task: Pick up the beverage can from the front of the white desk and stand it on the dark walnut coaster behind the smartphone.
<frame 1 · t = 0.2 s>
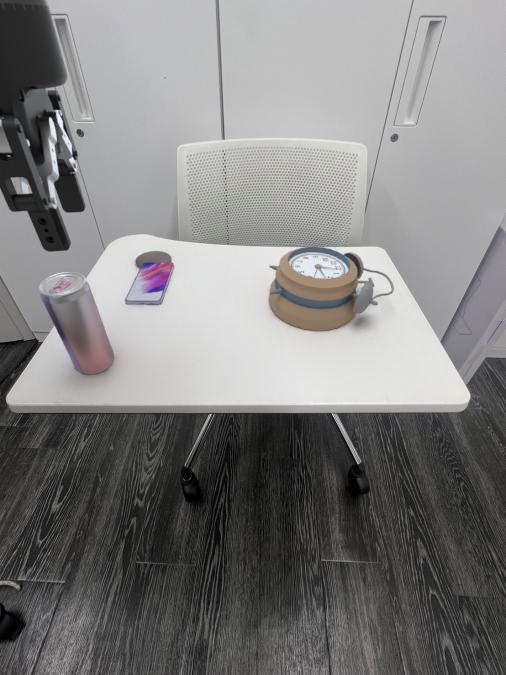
hand: (67, 228, 34), 25 cm above the table, tool pointing down, fingers open, 8 cm apart
smartphone: (151, 284, 72), on the table
alarm clock: (326, 304, 68), on the table
coaster: (153, 261, 78), on the table
beverage can: (95, 362, 55), on the table
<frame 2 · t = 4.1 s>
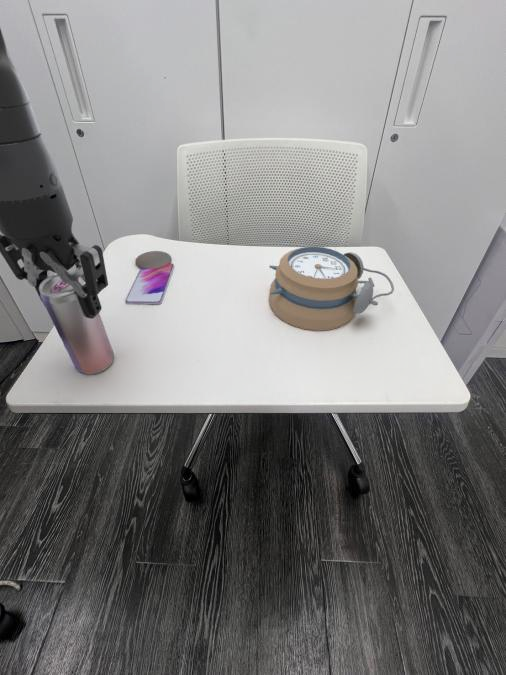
hand: (73, 309, 47), 11 cm above the table, tool pointing down, fingers closed on beverage can, 6 cm apart
beverage can: (95, 362, 55), on the table, touching gripper
everything else where it was.
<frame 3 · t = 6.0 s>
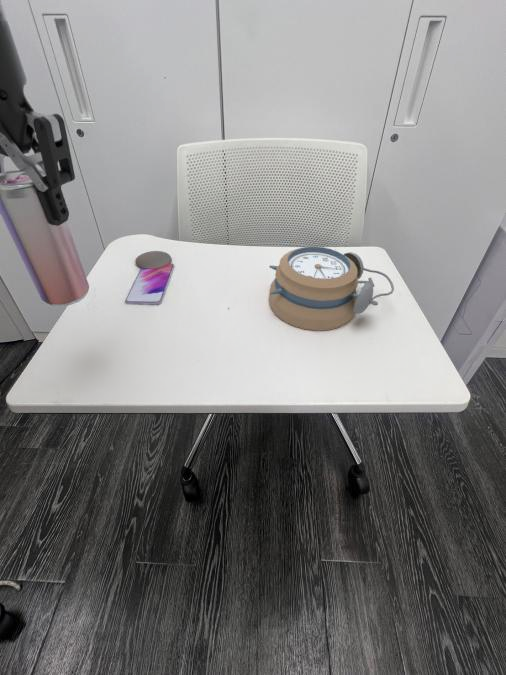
hand: (35, 217, 38), 24 cm above the table, tool pointing down, fingers closed on beverage can, 6 cm apart
beverage can: (67, 296, 46), point 13 cm above the table, touching gripper
everything else where it was.
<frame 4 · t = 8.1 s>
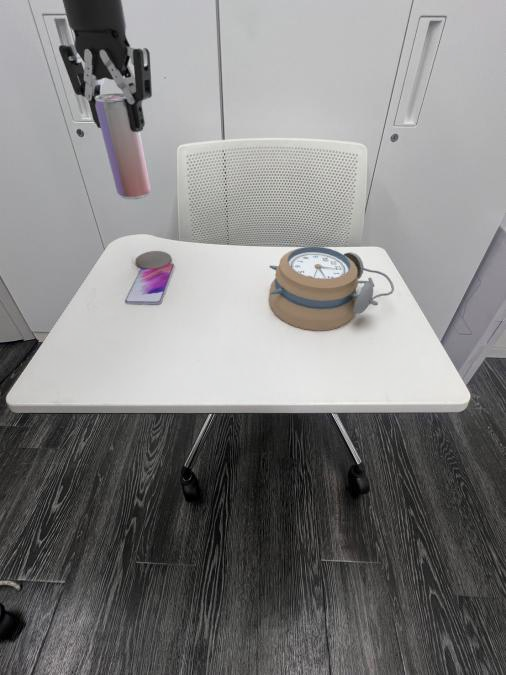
hand: (120, 128, 56), 27 cm above the table, tool pointing down, fingers closed on beverage can, 6 cm apart
beverage can: (135, 195, 63), point 16 cm above the table, touching gripper
everything else where it was.
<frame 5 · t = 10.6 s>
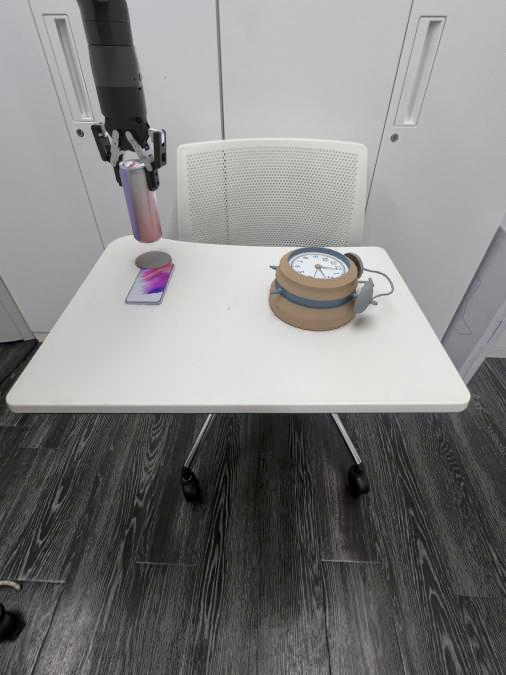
hand: (139, 187, 67), 16 cm above the table, tool pointing down, fingers closed on beverage can, 6 cm apart
beverage can: (148, 238, 74), point 6 cm above the table, touching gripper
everything else where it was.
when the fingers open (11 cm above the table, at t = 12.5 s): beverage can stays where it is, resting on coaster.
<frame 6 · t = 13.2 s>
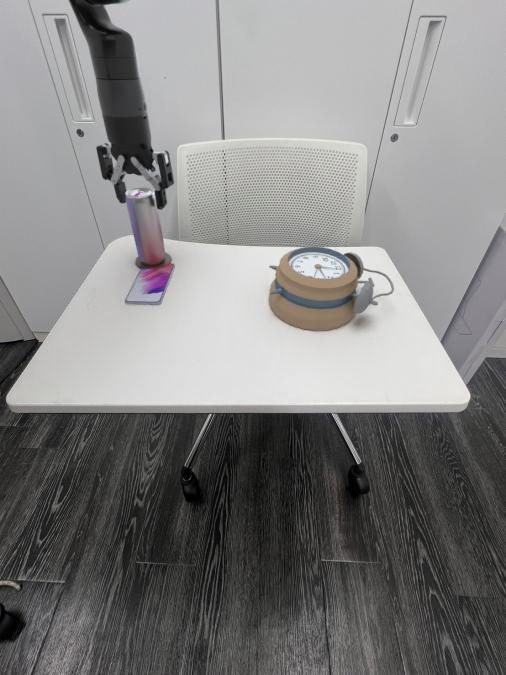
hand: (142, 205, 69), 13 cm above the table, tool pointing down, fingers open, 8 cm apart
beverage can: (153, 260, 78), resting on coaster
everything else where it was.
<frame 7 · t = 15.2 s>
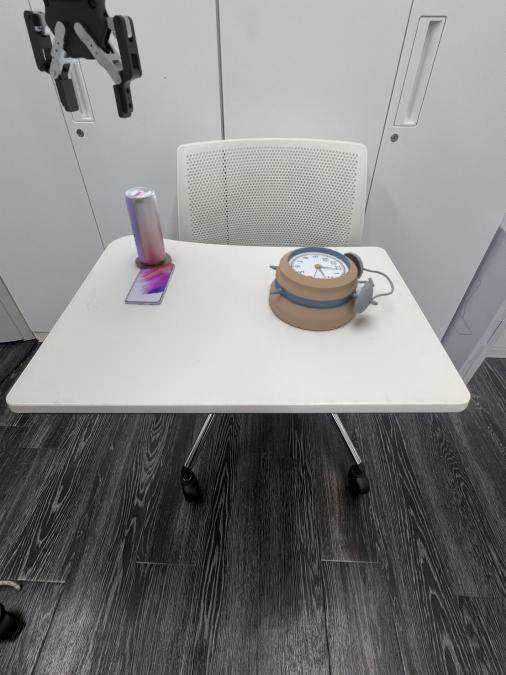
hand: (98, 114, 48), 31 cm above the table, tool pointing down, fingers open, 8 cm apart
nothing on the table moved.
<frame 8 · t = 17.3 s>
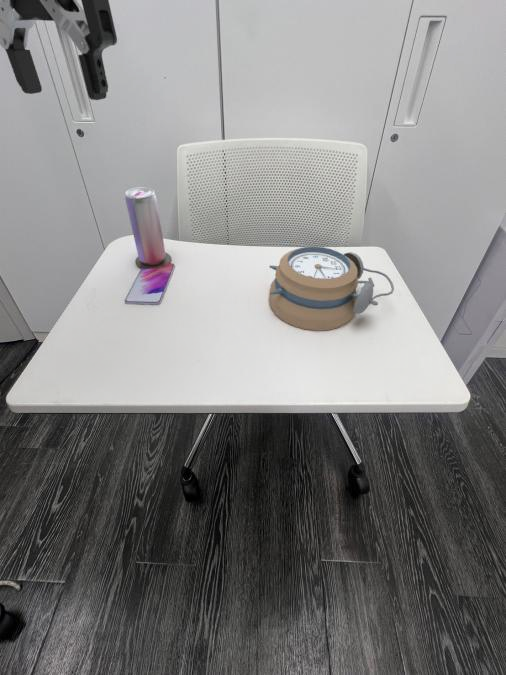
hand: (65, 95, 38), 34 cm above the table, tool pointing down, fingers open, 8 cm apart
nothing on the table moved.
at the end: beverage can inside the target area on the table beside the smartphone (0.7 cm from its centre), point 0.9 cm above the table; beverage can 0.1 cm from the coaster (horizontally); beverage can tilted 0° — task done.
